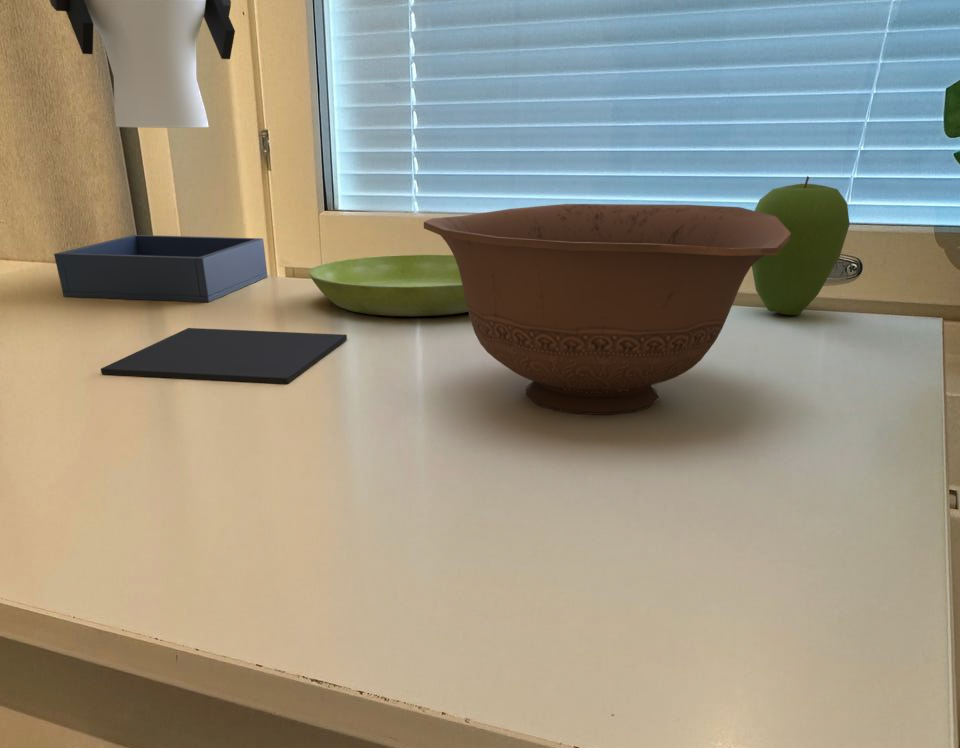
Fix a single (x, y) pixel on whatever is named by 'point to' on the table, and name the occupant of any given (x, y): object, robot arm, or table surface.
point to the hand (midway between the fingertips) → (160, 42)
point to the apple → (801, 245)
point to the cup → (152, 60)
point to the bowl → (604, 292)
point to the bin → (162, 268)
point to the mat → (229, 355)
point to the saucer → (394, 285)
